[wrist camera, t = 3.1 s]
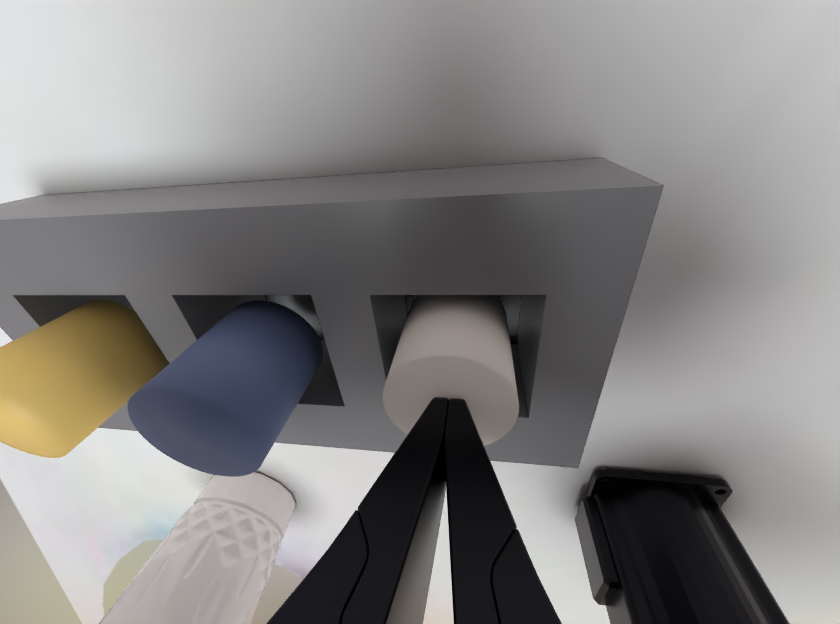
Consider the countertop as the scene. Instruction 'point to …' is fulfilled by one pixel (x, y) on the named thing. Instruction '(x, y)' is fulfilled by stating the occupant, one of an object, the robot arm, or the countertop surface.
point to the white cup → (211, 557)
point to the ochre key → (73, 376)
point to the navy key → (230, 390)
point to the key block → (358, 277)
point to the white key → (454, 363)
